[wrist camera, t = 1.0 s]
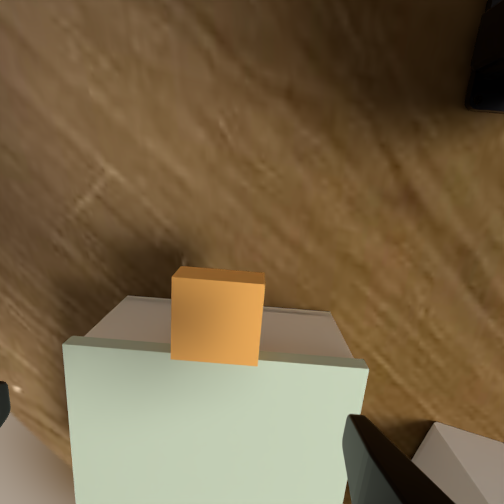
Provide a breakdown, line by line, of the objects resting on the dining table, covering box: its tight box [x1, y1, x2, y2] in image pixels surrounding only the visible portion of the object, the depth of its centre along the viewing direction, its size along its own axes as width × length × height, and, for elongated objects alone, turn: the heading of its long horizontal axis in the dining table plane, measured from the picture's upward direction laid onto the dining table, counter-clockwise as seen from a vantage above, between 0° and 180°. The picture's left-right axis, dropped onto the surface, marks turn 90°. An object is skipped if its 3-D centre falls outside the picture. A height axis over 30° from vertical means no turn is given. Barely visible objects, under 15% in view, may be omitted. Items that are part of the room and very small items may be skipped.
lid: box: [62, 266, 369, 504], centre depth 16 cm, size 15×16×2 cm
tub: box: [84, 295, 353, 358], centre depth 20 cm, size 14×11×6 cm
